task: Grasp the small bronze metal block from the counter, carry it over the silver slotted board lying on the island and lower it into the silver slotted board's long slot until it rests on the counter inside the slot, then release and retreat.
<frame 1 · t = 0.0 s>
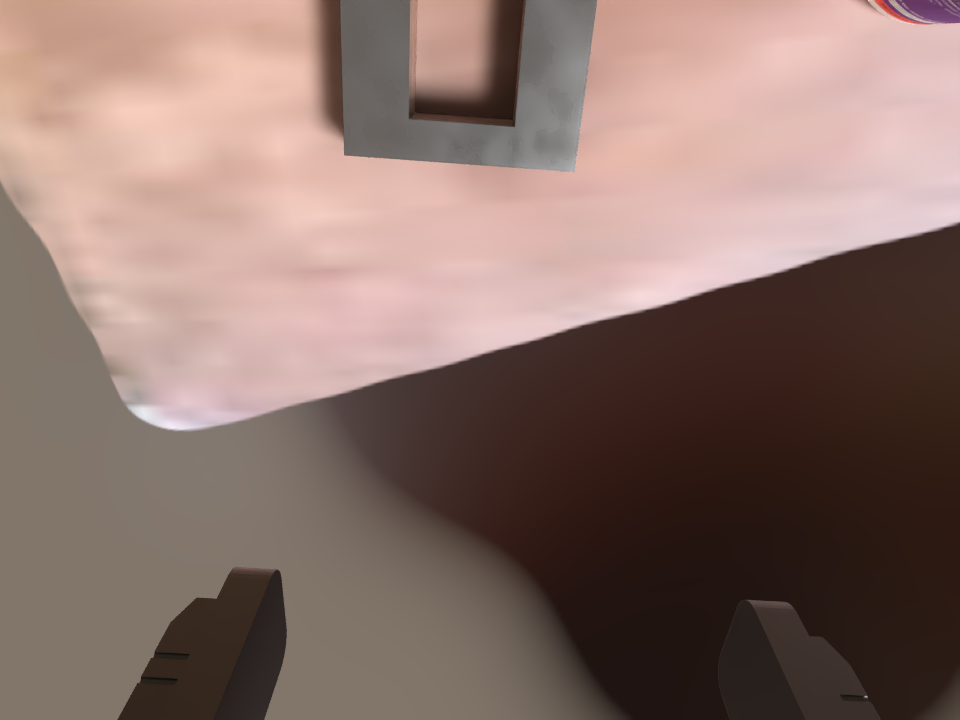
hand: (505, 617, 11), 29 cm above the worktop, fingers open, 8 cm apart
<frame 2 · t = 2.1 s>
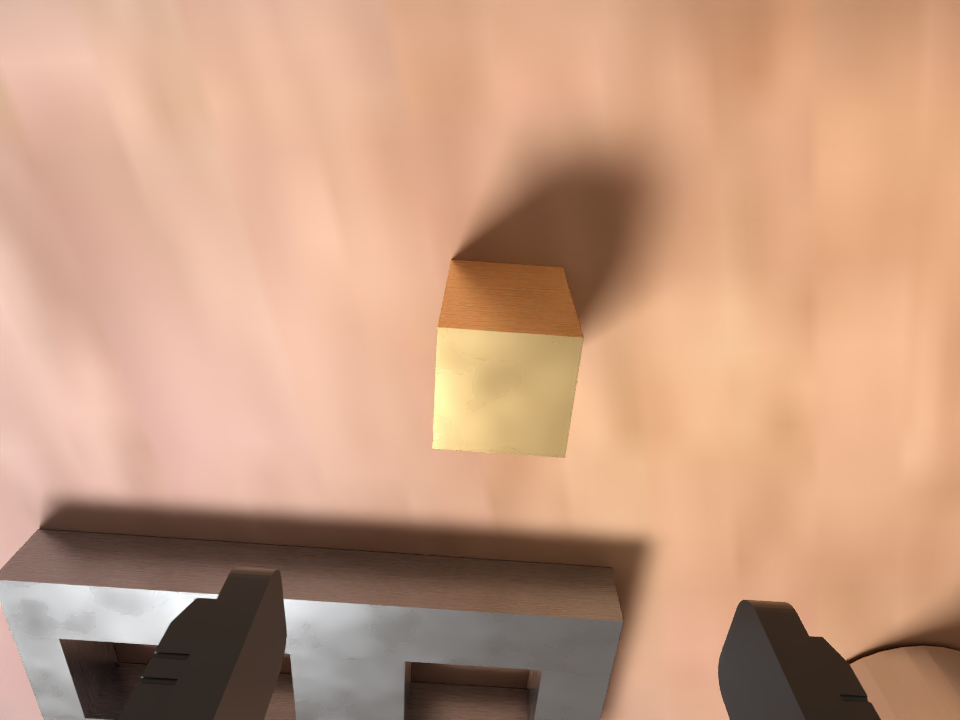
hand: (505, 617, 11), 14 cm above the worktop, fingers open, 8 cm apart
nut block: (502, 314, 24), on the worktop
silver slotted board: (331, 640, 32), on the worktop
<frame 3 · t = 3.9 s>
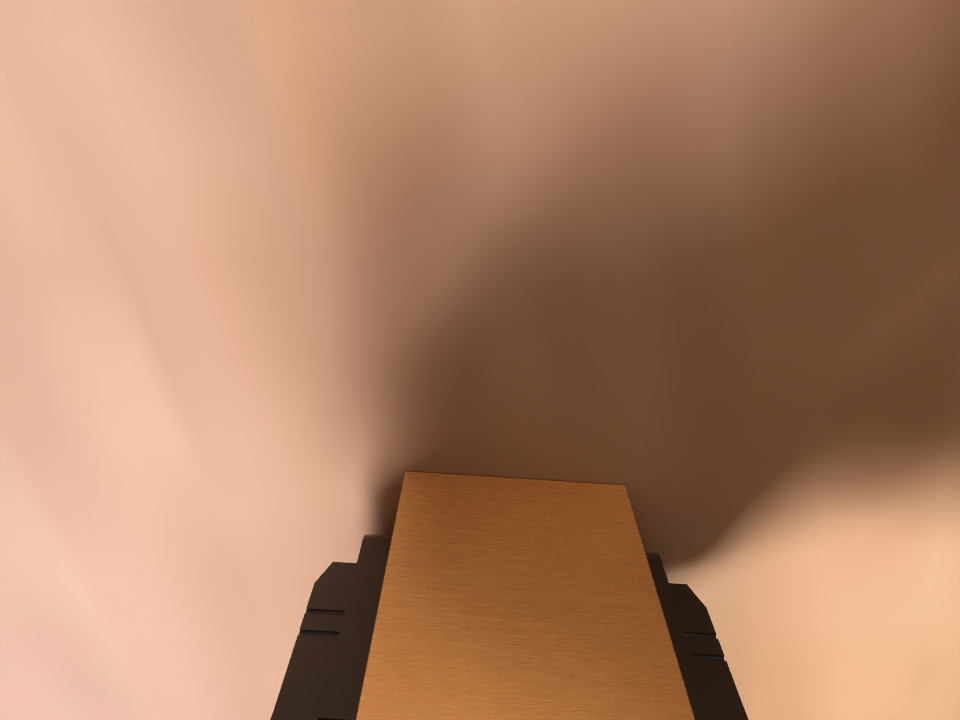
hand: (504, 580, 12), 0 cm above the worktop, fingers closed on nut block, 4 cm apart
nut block: (506, 560, 12), on the worktop, touching gripper
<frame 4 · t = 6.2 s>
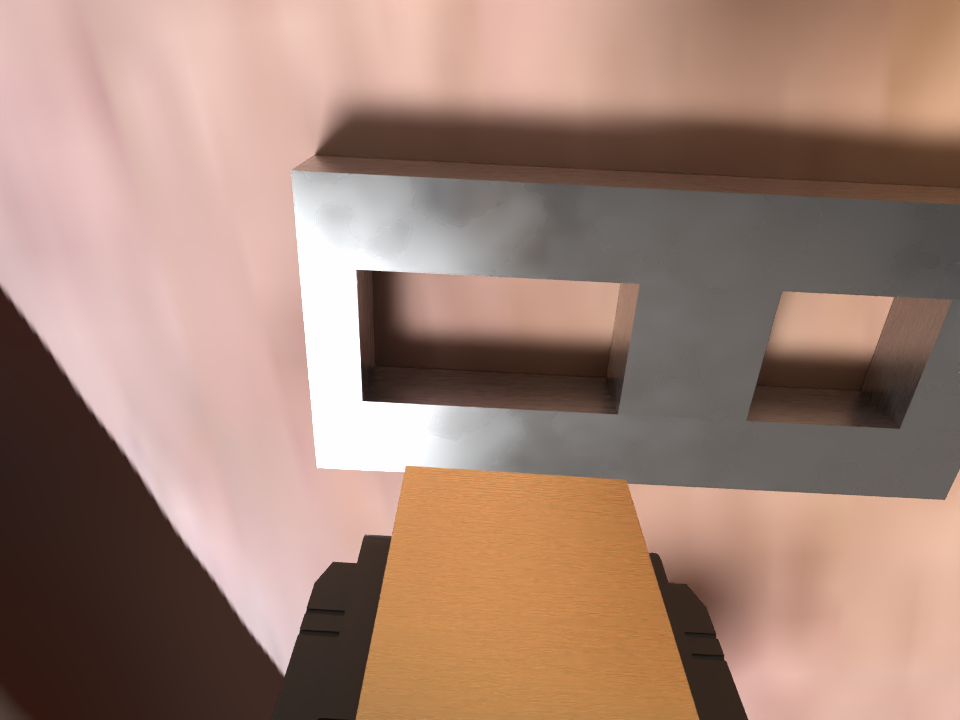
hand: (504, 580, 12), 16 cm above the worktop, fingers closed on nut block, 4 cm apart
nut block: (506, 555, 12), point 15 cm above the worktop, touching gripper
silver slotted board: (639, 321, 26), on the worktop
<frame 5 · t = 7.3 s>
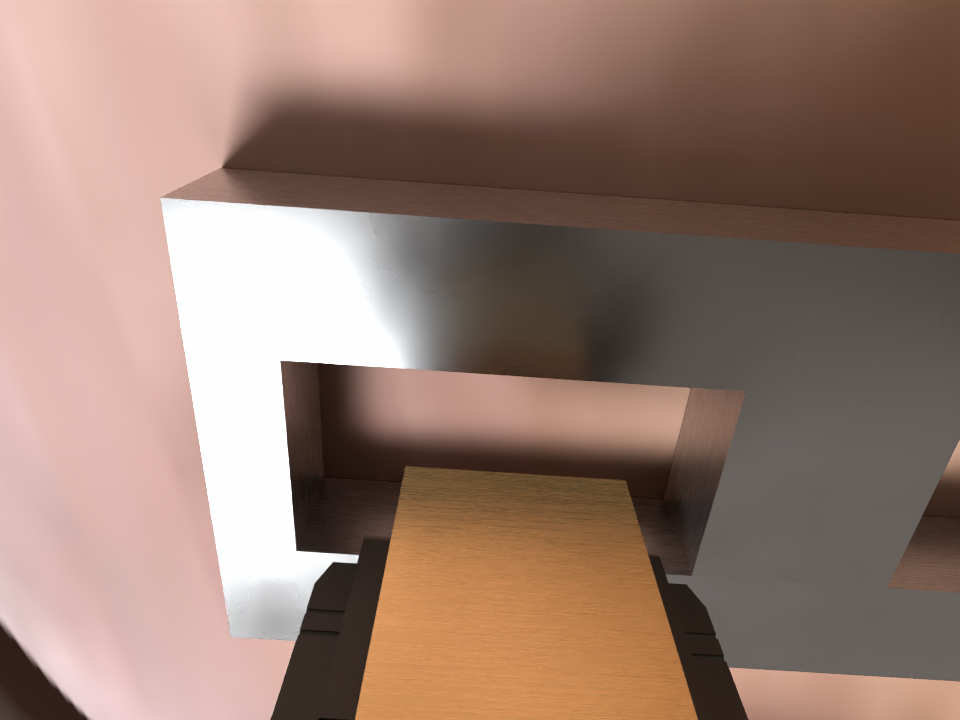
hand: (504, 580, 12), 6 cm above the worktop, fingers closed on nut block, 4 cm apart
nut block: (506, 556, 12), point 6 cm above the worktop, touching gripper
silver slotted board: (718, 424, 18), on the worktop
when the fingers open (2 cm above the worktop, at t = 8.4 s): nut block drops 2 cm, resting in silver slotted board.
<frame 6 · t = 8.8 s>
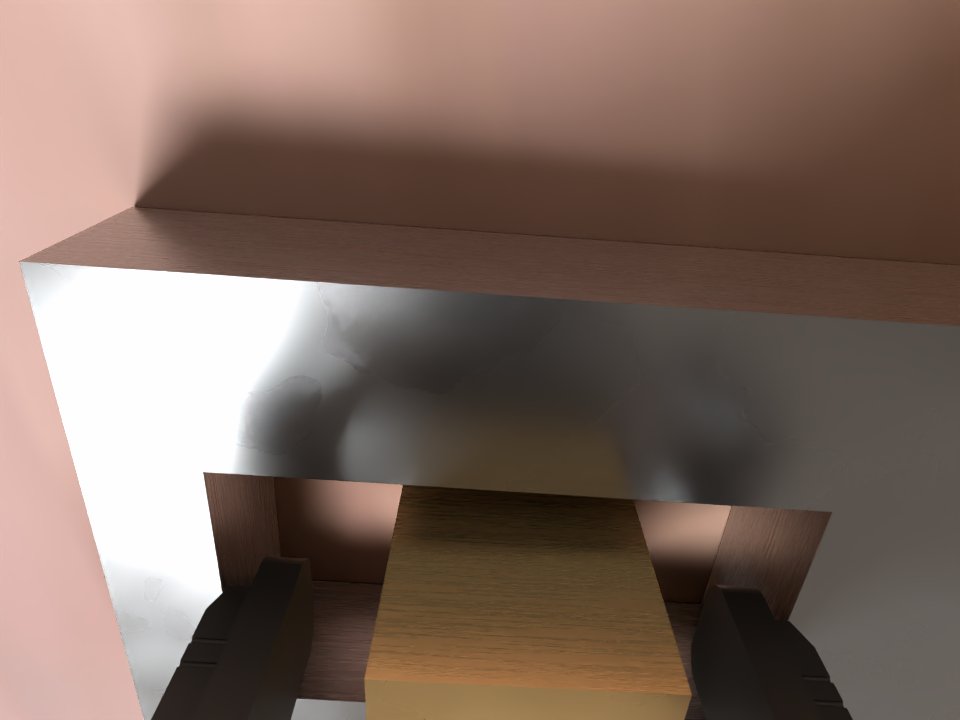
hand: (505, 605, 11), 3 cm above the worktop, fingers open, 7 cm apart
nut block: (507, 498, 14), resting in silver slotted board
silver slotted board: (773, 519, 14), on the worktop
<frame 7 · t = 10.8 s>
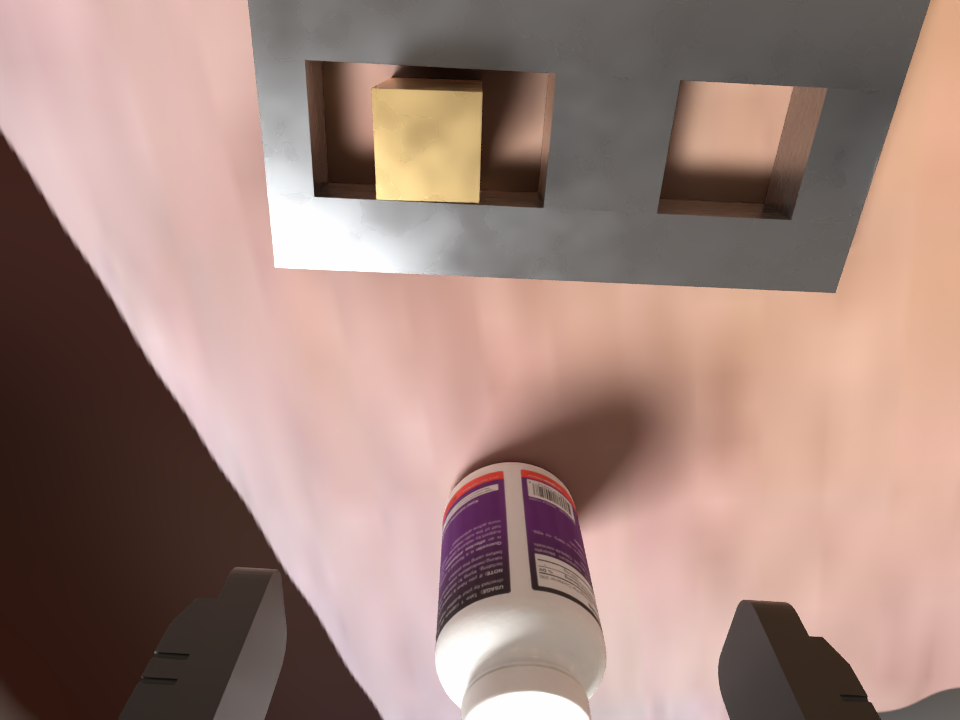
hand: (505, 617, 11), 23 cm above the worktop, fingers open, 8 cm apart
pill bottle: (509, 504, 40), on the worktop
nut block: (436, 126, 29), resting in silver slotted board
silver slotted board: (564, 134, 29), on the worktop
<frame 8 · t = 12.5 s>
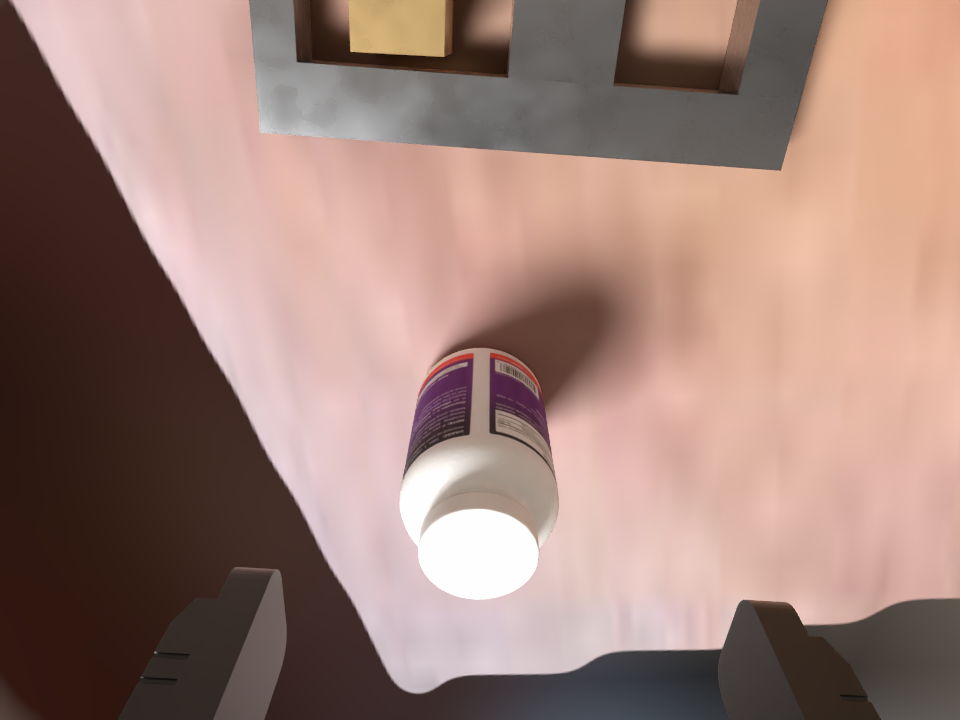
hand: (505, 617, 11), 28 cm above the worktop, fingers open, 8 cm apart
pill bottle: (481, 395, 42), on the worktop
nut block: (412, 6, 32), resting in silver slotted board
silver slotted board: (531, 16, 32), on the worktop
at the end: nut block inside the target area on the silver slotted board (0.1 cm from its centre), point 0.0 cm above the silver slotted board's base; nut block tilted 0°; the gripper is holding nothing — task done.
